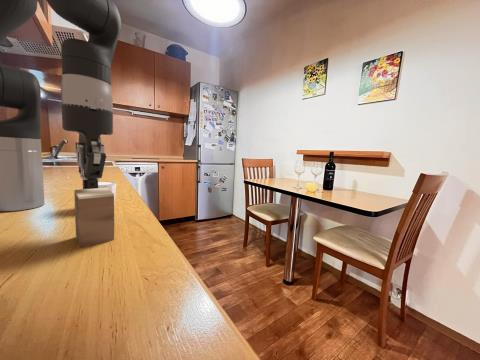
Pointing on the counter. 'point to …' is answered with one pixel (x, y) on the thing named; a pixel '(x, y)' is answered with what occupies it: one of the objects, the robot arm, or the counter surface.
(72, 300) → the counter surface
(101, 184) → the shot glass
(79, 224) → the greyish brown block
